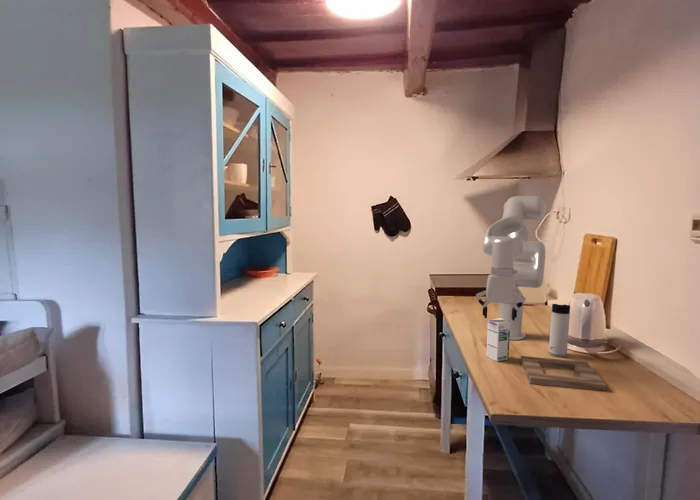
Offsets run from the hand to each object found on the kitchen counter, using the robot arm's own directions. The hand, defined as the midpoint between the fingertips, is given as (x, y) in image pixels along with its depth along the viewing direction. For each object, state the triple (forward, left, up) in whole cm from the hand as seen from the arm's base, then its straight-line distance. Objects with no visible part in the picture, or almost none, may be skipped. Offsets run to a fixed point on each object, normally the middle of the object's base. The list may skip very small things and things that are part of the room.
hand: (499, 318), depth 160 cm
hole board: (+10, +19, -15) cm, 27 cm away
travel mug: (-11, +23, -16) cm, 30 cm away
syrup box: (-1, 0, -16) cm, 15 cm away
